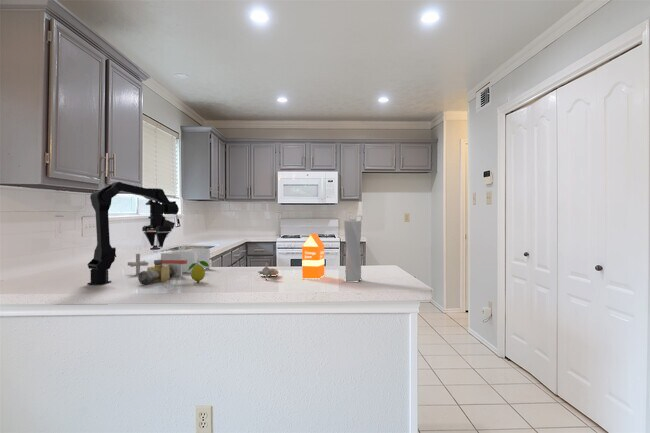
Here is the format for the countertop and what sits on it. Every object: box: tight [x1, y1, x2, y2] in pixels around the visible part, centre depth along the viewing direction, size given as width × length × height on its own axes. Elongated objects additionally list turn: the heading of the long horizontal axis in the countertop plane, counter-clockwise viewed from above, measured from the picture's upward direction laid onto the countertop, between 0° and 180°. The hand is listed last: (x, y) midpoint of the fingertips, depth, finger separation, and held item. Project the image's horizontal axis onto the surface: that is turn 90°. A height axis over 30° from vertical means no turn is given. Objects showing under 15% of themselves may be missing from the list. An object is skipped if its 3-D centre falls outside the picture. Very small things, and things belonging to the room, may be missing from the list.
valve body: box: [137, 264, 177, 286], centre depth 157 cm, size 20×6×7 cm, turn 174°
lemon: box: [189, 261, 209, 283], centre depth 152 cm, size 7×6×10 cm
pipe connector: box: [127, 253, 149, 275], centre depth 177 cm, size 10×10×10 cm
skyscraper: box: [343, 214, 363, 283], centre depth 152 cm, size 8×8×28 cm
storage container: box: [160, 248, 211, 277], centre depth 182 cm, size 25×11×11 cm, turn 166°
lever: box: [153, 259, 187, 265], centre depth 157 cm, size 15×4×2 cm, turn 84°
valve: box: [257, 262, 280, 279], centre depth 162 cm, size 8×12×10 cm
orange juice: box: [301, 233, 325, 278], centre depth 160 cm, size 8×9×20 cm
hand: (156, 246), depth 173 cm, fingers open, 9 cm apart
